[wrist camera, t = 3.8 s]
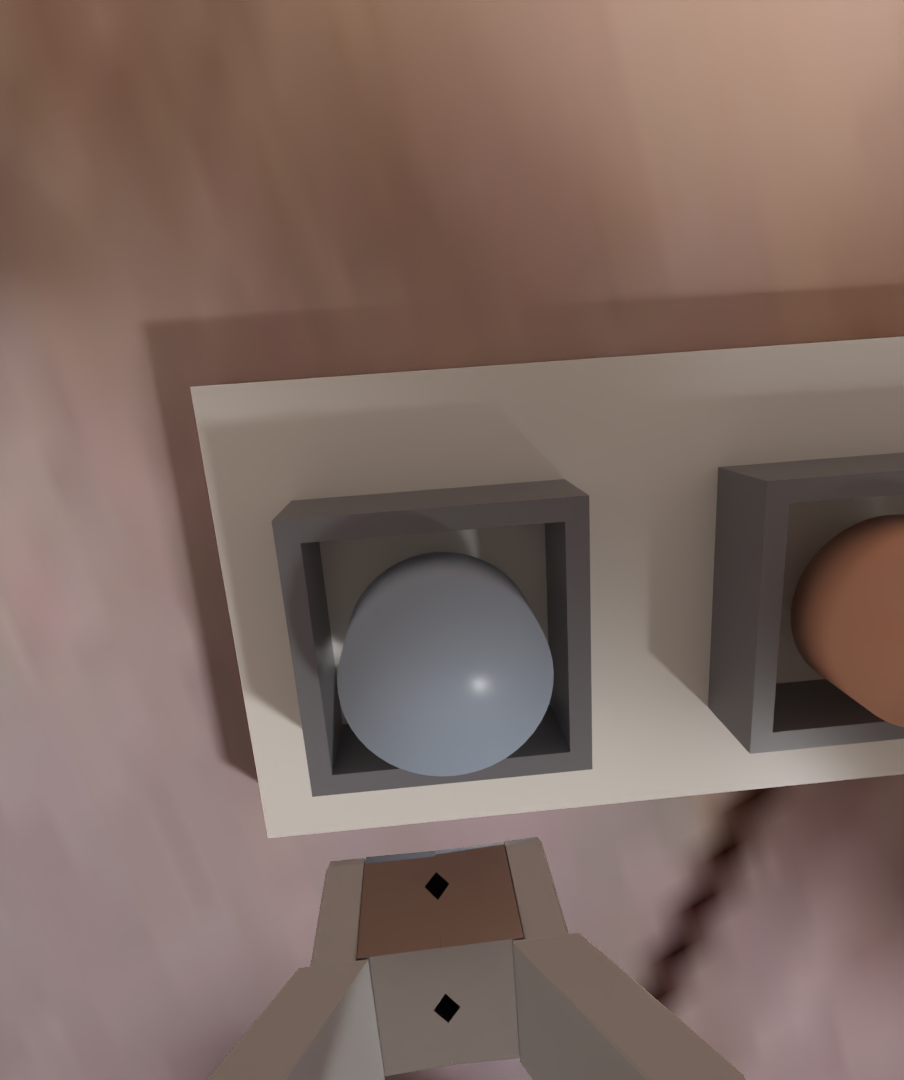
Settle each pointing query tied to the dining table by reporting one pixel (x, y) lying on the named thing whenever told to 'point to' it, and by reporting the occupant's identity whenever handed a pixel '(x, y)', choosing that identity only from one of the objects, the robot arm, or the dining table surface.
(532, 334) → the dining table surface
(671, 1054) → the robot arm
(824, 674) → the terracotta button
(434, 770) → the slate button
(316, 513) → the console
